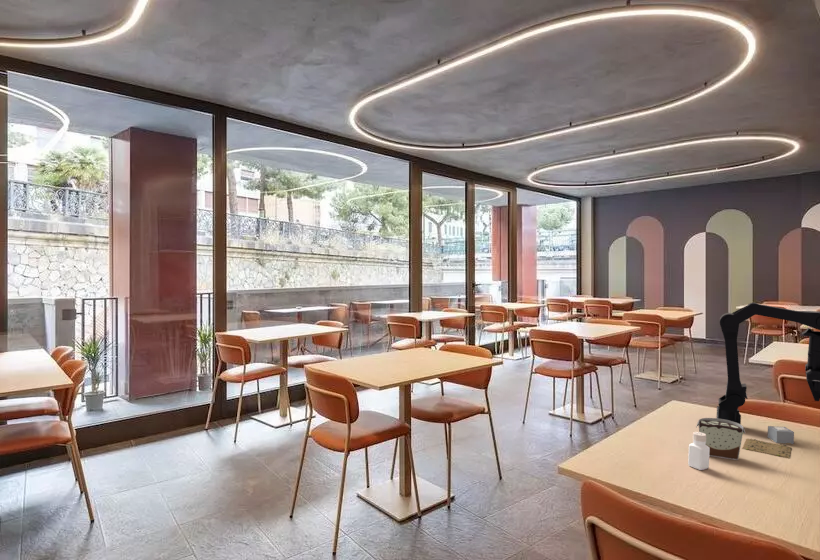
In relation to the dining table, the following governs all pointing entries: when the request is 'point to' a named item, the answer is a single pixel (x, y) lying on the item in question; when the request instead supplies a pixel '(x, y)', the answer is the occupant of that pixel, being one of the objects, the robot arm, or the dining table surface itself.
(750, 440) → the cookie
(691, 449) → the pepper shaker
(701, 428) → the food container
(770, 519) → the dining table surface
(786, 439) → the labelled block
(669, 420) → the dining table surface
